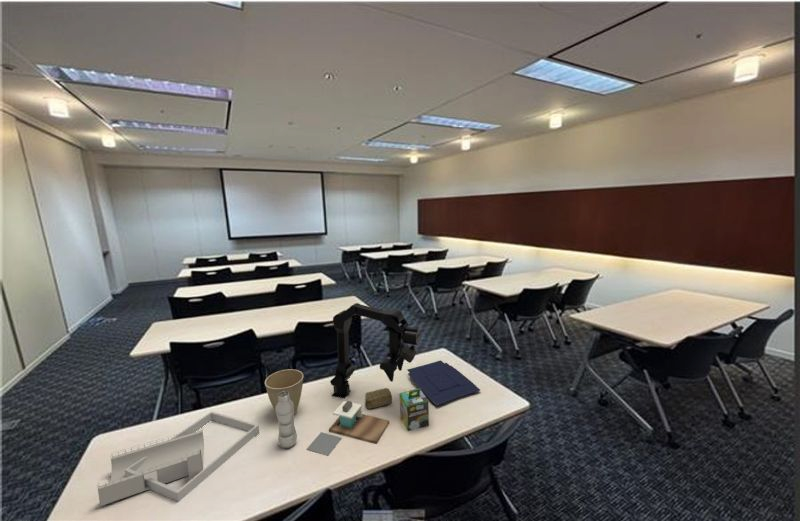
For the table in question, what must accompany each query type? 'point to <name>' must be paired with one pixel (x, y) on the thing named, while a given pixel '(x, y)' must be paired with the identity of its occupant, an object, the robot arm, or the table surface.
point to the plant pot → (285, 386)
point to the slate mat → (324, 444)
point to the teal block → (347, 422)
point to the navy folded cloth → (441, 382)
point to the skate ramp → (154, 466)
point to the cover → (349, 410)
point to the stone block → (378, 398)
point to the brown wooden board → (362, 428)
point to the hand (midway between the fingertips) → (395, 375)
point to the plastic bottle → (286, 420)
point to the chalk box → (414, 409)
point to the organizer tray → (212, 466)
